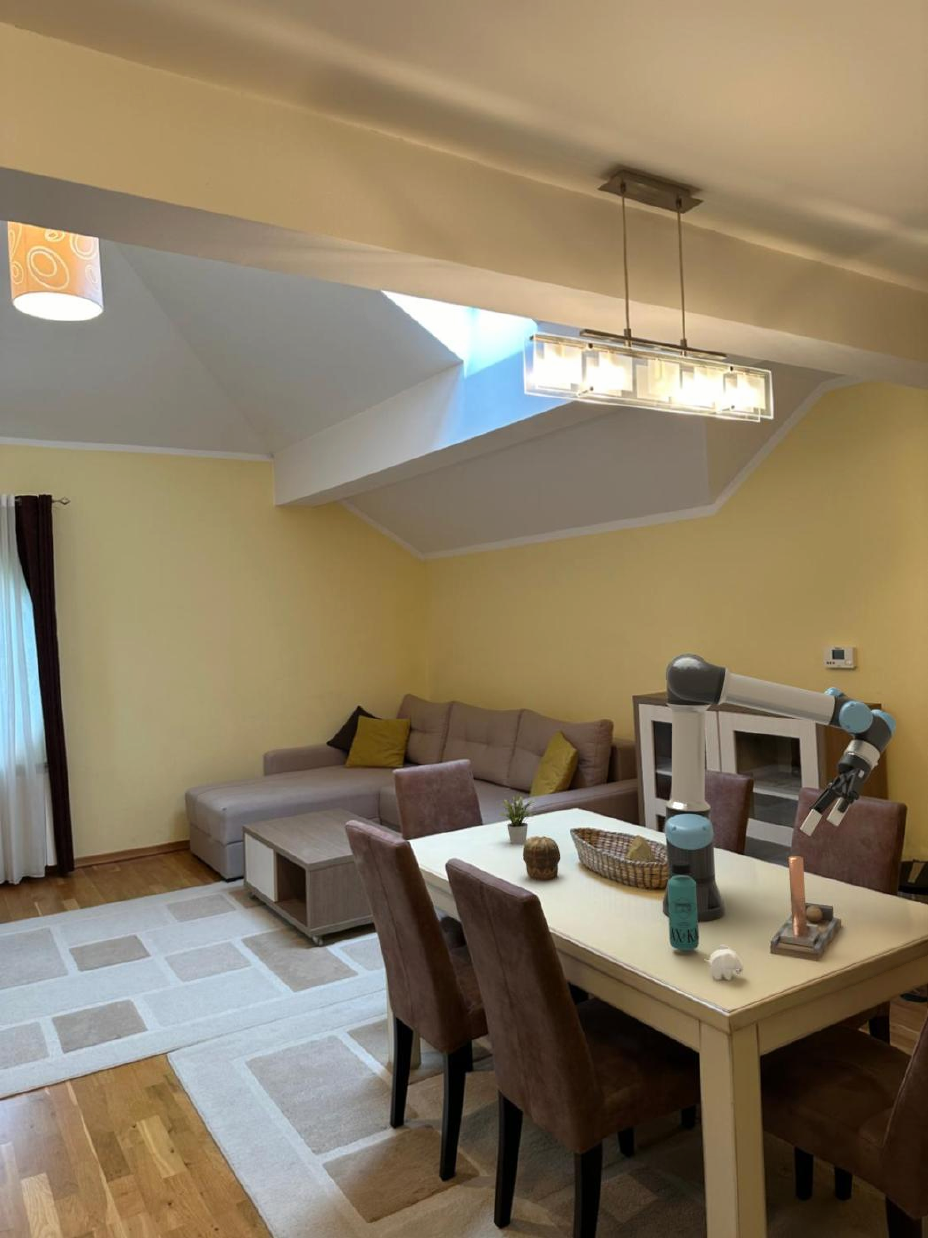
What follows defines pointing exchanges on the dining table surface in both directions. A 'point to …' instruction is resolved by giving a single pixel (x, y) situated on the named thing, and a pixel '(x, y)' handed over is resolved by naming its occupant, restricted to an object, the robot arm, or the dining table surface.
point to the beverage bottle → (682, 908)
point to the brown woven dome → (541, 858)
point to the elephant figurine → (724, 963)
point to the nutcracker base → (826, 927)
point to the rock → (640, 850)
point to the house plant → (517, 821)
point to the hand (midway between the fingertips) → (818, 828)
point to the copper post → (799, 909)
